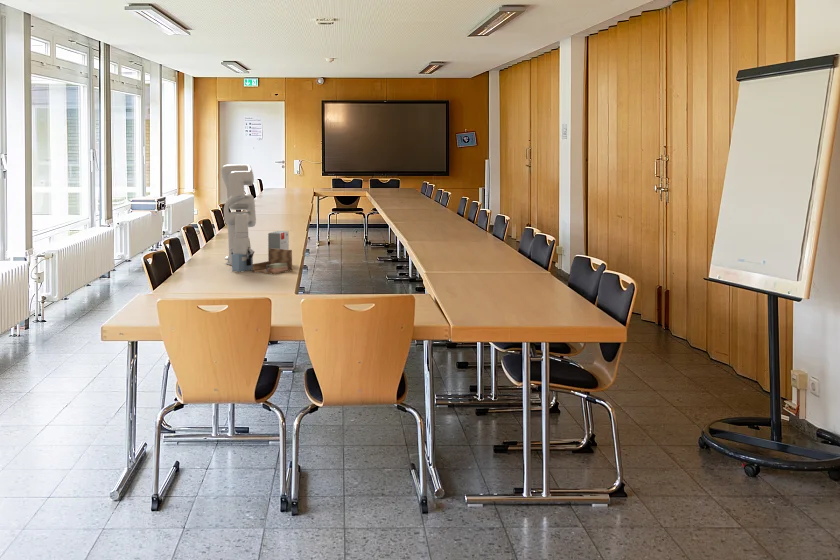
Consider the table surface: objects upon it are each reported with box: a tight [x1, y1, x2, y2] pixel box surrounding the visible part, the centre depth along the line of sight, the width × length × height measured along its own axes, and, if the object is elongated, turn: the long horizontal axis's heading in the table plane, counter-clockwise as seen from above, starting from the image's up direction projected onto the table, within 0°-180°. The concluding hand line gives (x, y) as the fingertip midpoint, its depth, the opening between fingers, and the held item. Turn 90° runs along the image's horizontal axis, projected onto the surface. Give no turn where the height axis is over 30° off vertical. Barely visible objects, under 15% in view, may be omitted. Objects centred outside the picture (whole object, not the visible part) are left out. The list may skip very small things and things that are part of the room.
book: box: [231, 253, 254, 273], centre depth 505 cm, size 5×12×10 cm, turn 150°
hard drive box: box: [267, 230, 290, 261], centre depth 526 cm, size 16×8×20 cm, turn 168°
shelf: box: [251, 248, 293, 275], centre depth 502 cm, size 16×16×12 cm
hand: (242, 264), depth 505 cm, fingers open, 9 cm apart
